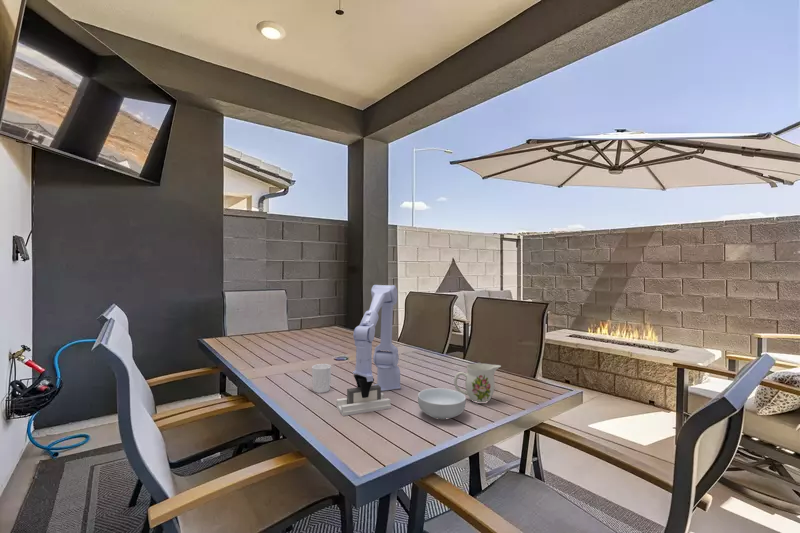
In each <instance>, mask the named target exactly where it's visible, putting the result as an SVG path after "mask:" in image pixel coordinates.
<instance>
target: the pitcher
mask: <svg viewBox="0 0 800 533" xmlns="http://www.w3.org/2000/svg"><path fill="white" fill-rule="evenodd" d="M501 367H502V365H501V364H491V363H480V364H477V363H469V364H467V365H466V371H467V372H464V371H459V372H456V374H454V377H453V385H454V388H455V389H456V391H458V392H461V393H462V394H464V395H465V396H468V397H469V399H470V401H471V400H473V401H477V402H486V401H489V402H490V400H491V399H492V397H493V395H494V390H495V377H494V375H495V372H496V371H497V370H498V369H499V368H501ZM460 376H464V377H465V389H466V390H463V389H461V388H460V386H459V385H458V378H459V377H460Z"/></svg>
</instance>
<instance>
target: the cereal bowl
mask: <svg viewBox="0 0 800 533" xmlns="http://www.w3.org/2000/svg"><path fill="white" fill-rule="evenodd" d="M466 397H467V396H466V395H465V394H462V393H461V392H458V391H457V390H454V389H450V388H443V387H432V388H431V387H430V388H426V389H422V390H421V391H419V392H418V394H417V403H418V404H417V405H418V407H419V408H420V410H421V411H422V412H423V413H424V414H426V415H428V416H430V417H432V419H435V418H438V419H437V420H439V419H446V418H450V419H452V418H455V417H457V416H460V415H461V414H462V413H463V411H465V408H466V403H467V398H466ZM446 420H447V419H446Z"/></svg>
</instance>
